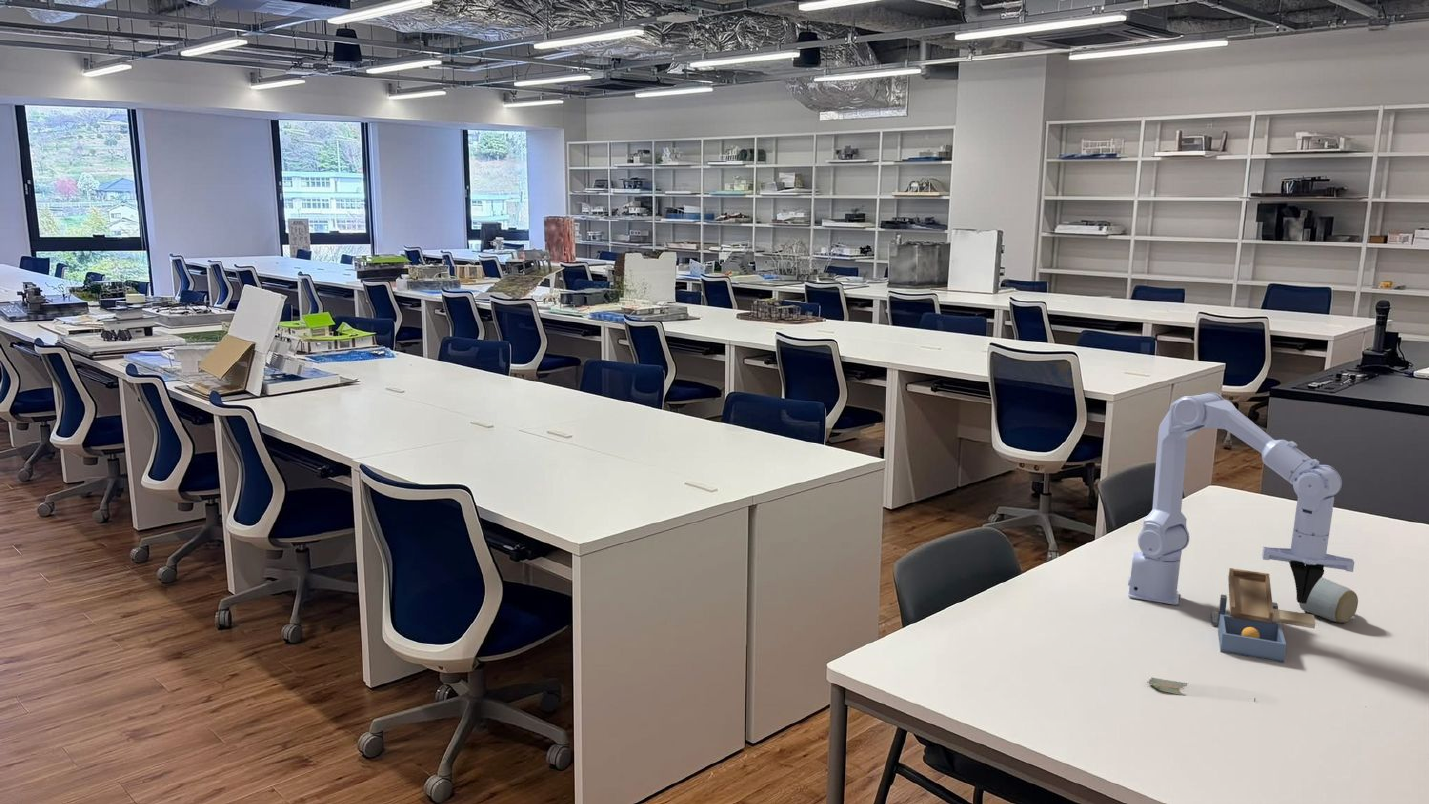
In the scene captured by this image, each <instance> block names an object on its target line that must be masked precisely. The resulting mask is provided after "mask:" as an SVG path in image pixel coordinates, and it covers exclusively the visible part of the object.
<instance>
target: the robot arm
mask: <svg viewBox="0 0 1429 804" xmlns="http://www.w3.org/2000/svg"><path fill="white" fill-rule="evenodd" d="M1158 426H1159V427H1158V435H1157V445H1156V446H1157V447H1156V459H1155V474H1154V484H1153V497H1152V509H1151V511H1150V512H1149V513H1148V515H1146V517H1145V518H1144V519H1143V526H1142V529H1141V531H1140V533H1139V534H1138V537H1137V544H1138V545H1137V546H1138V548H1139V549H1140V551H1141V552H1140V551H1133V552H1132V561H1131V568H1130V576H1129V577H1128V579H1127V580H1128V581H1127V582H1128V583H1127V586H1129V588H1128V589H1129V590H1128V598H1132V599H1136V600H1137V599H1138V600H1142V601H1149V602H1154V603H1155V602H1156V603H1163V604H1167V605H1168V604H1169V605H1175V606H1178V605H1179V603H1180V602H1179V591H1178V587H1179V586H1178V584H1179V578H1180V577H1179V576H1180V567H1181V562H1182V561H1181V559H1182V551H1183V550H1185V549H1186V548H1187V547H1188V545H1189V543H1190V533H1189V531H1188V527H1187V518H1186V516H1185V515H1184V514H1183V512H1182V505H1183V494H1184V483H1185V482H1184V481H1185V471H1186V470H1185V469H1186V457H1187V448H1188V447H1187V445H1188V438H1189V437H1190V436H1191V435H1193V434H1194V433H1196V432H1197V431H1199V430H1200V429H1202V428H1205V429H1218V430H1219V429H1221V430H1226V432H1228V433H1230V434H1232V435H1233V436H1235V437H1236V438H1238V439H1239V440H1241V441H1242V442H1244V443H1245V444H1247V445H1248V446H1250V447H1251V448H1252V449H1254V450H1256V451H1257V452H1259V453H1260V454H1261V459H1262V463H1263V464H1265V466H1266V467H1268V468H1269V469H1271V470H1272V471H1274V472H1275V473H1276V474H1277V475H1279V476H1280V477H1281V478H1283V479H1284V480H1286V482H1288V483H1290V484H1291V485H1292V486H1293V491H1294V493H1295V494H1296V496H1297V501H1296V508H1295V513H1294V514H1295V515H1294V521H1293V529H1292V536H1291V544H1290V548H1288V547H1271V546H1269V547H1267V546H1263V547H1262V553H1261V559H1262V560H1263V561H1269V560H1270V561H1271V560H1272V561H1280V562H1286V563H1289V567H1290V570H1291V572H1292V575H1293V579H1294V584H1295V589H1296V590H1295V591H1296V599H1295V600H1296V602H1297V603H1298V604H1299V603H1304V604H1306V602H1307V599H1308V597H1309V595H1310V592H1311V591H1312V589H1313V587H1314V586H1315V584H1316V583H1317V582H1318V580H1319V579H1320V578H1321V577H1323V575H1324V573H1325V569H1324V568H1329V569H1335V570H1336V569H1337V570H1344V571H1346V572H1351V573H1353V572H1354V567H1355V561H1354V559H1353V558H1349V557H1344V556H1338V555H1334V554H1329V553H1327V551H1328V545H1329V538H1330V531H1331V523H1332V517H1333V513H1334V511H1333V509H1334V502H1335V495H1336V494H1338V493H1339V492H1340V491H1341V489H1342V486H1343V479H1342V477H1341V475H1340V473H1339V472H1338V471H1337V470H1336V469H1335V468H1334V467H1333V466H1332V465H1331V466H1330V465H1328V464H1320V461H1319V460H1317V459H1316V458H1314V459H1313V458H1312V457H1310V456H1308V454H1306V453H1304V452H1303V451H1301V450H1300V449H1299V448H1297V447H1298V444H1297V443H1296V442H1294V441H1293V440H1290V441H1288V440H1286V439H1274V438H1273V437H1271V435H1270V434H1268V433H1267V432H1265V431H1264V430H1263V429H1261V428H1260V426H1258V425H1257V424H1255V423H1254V422H1253V421H1252V420H1251V419H1250V418H1248V417H1247V416H1245V415H1244V414H1243V413H1242V412H1241V411H1239V410H1238V409H1237V408H1236V407H1235V405H1234V404H1233V403H1232V402H1231V401H1229V400H1227V399H1224V397H1223V396H1222V395H1220V394H1219V393H1217V392H1206V393H1203V394H1196V395H1185V396H1182V397H1180V398H1178V399H1177V400H1174V402H1171V403H1170V404H1169V410H1168V412H1167V413H1166V415H1165V416H1164V417H1163V419H1162V421H1161V422H1160V424H1159V425H1158Z"/></svg>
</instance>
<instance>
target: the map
mask: <svg viewBox="0 0 1429 804" xmlns="http://www.w3.org/2000/svg"><path fill="white" fill-rule="evenodd" d="M1146 683H1148V684H1149V685H1151V686H1153V687H1154V688H1155V689H1157V690H1159V691H1162V692H1166V693H1170V694H1177V695H1181V696H1187V695H1186V694H1185V693H1183V692H1181V690H1184V688H1185V687H1188V684H1190V683H1188V682H1181V681H1175V680H1168V679H1163V678H1156V677H1150V678H1149V679H1148V681H1146ZM1253 702H1256V697H1254V700H1253Z"/></svg>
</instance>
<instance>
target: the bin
mask: <svg viewBox="0 0 1429 804" xmlns="http://www.w3.org/2000/svg"><path fill="white" fill-rule="evenodd" d="M1281 624H1282V623H1280V624H1278V623H1268V622H1262V621H1256V620H1249V619H1243V618H1237V617H1231V616H1228V615H1222V614H1220V619H1219V627H1217V635H1218V643H1219V650H1220V651H1219V652H1220V653H1226V654H1231V655H1237V656H1243V657H1249V658H1254V659H1260V660H1266V661H1271V662H1276V663H1285V656H1286V648H1287V643H1286V640H1285V636H1284V632H1283V628H1282V625H1281ZM1247 627H1253V628H1255V629H1256V630H1257V631H1258V632H1259V634H1260V638H1259V639H1257V638H1251V637H1245V636H1242V631H1243V629H1245V628H1247Z"/></svg>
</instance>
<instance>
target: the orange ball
mask: <svg viewBox="0 0 1429 804" xmlns="http://www.w3.org/2000/svg"><path fill="white" fill-rule="evenodd" d="M1242 636H1245V637H1251V638H1257V639H1259V638H1260V634H1259V632H1258V631H1257V630H1256V629H1255V628H1253V627H1247V628H1245V629H1243V631H1242Z"/></svg>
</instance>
